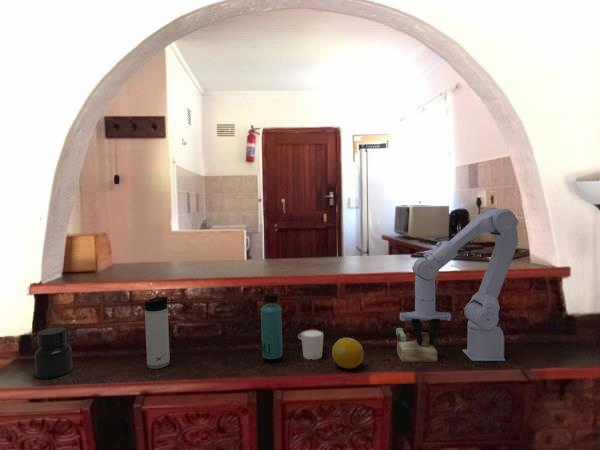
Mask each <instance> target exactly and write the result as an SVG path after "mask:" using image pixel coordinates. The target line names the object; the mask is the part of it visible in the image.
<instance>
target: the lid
mask: <svg viewBox="0 0 600 450" xmlns="http://www.w3.org/2000/svg"><path fill="white" fill-rule="evenodd" d="M398 344H399V345H400V347H401V349H402V350H403V352H407V351H437V349H436V348H435V346H434V344H433V345H430V334H429V332H424V331H423V332H422V331H421V345H418V343H417V341H410V342H406V341H400V342H398Z"/></svg>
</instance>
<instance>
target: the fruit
mask: <svg viewBox="0 0 600 450" xmlns="http://www.w3.org/2000/svg"><path fill="white" fill-rule="evenodd" d="M364 355H365V354H364V349H363V346H362V344H361V343H360V342H359V341H358V340H356V339H354V338H351V337H342V338H339V339H338V340H337V341H335V343H334V345H333V346H332V349H331V356H332V358H333V359H332V360H333V361H334V362H335V364H336V365H338V366H339V367H340V368H343V369H348V370H351V369H355V368H357V367H358V366H360V364H361V363H362V362H363V360H364Z"/></svg>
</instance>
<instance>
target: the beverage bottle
mask: <svg viewBox="0 0 600 450" xmlns="http://www.w3.org/2000/svg"><path fill="white" fill-rule="evenodd" d="M278 301H279V300H278V294H277V293H274V292H268V293H265V294H264V295H263V302H264V303H266V304H263V306H262V307H261V308H260V331H261V333H260V334H261V335H260V336H261V341H260V345H261V347H260V349H261V352H260V354H261V355H262V357H263V358H264V359H267V360H275V359H280V358H281V357H282V356H283V353H284V347H283V346H284V344H283V331H282V329H283V327H282V326H283V325H282V323H283V322H282V321H283V320H282V307H281V306H280V305H279V304H277V302H278Z"/></svg>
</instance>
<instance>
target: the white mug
mask: <svg viewBox="0 0 600 450" xmlns="http://www.w3.org/2000/svg"><path fill="white" fill-rule="evenodd" d="M324 335H325V334H324V332H323V331H320V330H315V329H309V330H305V331H302V332H301V333H300V338H301V345H302V355H303V358H304V359H306V360H310V359H312V360H313V361H315V360H319V359H322V357H323V348H324V347H323V346H324Z"/></svg>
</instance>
